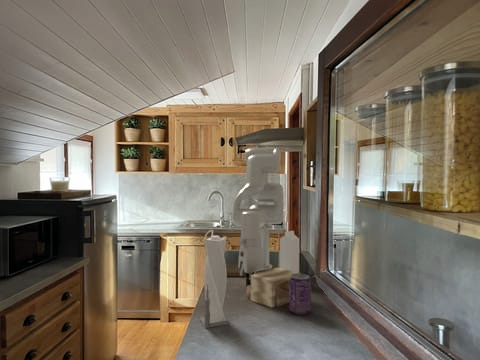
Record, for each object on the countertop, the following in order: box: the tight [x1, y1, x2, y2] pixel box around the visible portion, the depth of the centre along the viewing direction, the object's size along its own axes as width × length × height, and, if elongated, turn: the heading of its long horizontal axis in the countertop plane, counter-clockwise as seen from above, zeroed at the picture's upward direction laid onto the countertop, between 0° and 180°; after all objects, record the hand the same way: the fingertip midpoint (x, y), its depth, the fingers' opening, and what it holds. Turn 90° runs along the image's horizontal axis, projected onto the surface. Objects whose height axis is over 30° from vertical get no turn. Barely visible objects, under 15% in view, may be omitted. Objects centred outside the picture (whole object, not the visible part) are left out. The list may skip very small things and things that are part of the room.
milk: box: [279, 230, 300, 273], centre depth 147 cm, size 6×6×22 cm
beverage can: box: [288, 273, 312, 316], centre depth 114 cm, size 7×7×12 cm
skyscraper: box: [198, 229, 228, 329], centre depth 107 cm, size 8×8×28 cm
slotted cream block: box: [247, 267, 301, 308], centre depth 128 cm, size 14×16×9 cm
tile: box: [246, 285, 287, 299], centre depth 129 cm, size 16×7×3 cm, turn 45°
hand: (250, 288), depth 136 cm, fingers closed
